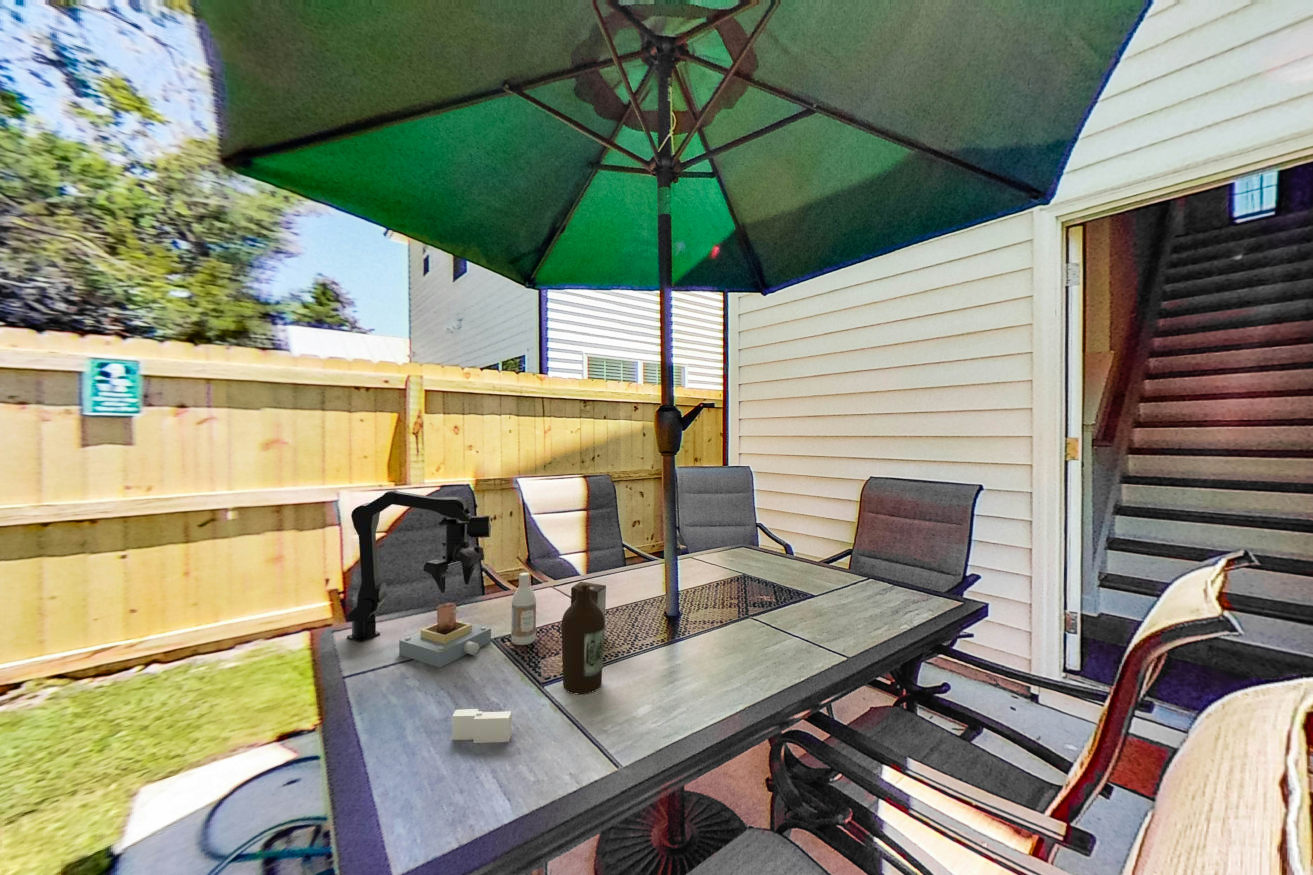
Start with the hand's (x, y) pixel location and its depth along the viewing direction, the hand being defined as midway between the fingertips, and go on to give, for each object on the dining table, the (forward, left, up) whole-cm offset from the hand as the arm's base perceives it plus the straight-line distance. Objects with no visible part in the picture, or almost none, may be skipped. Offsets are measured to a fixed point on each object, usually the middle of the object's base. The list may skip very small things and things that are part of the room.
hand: (455, 588), depth 154 cm
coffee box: (+40, +14, -13) cm, 44 cm away
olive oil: (+54, -9, -13) cm, 56 cm away
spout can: (+8, -10, -9) cm, 16 cm away
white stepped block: (+47, -35, -14) cm, 61 cm away
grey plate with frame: (+9, -10, -13) cm, 19 cm away
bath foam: (+24, +4, -13) cm, 28 cm away
